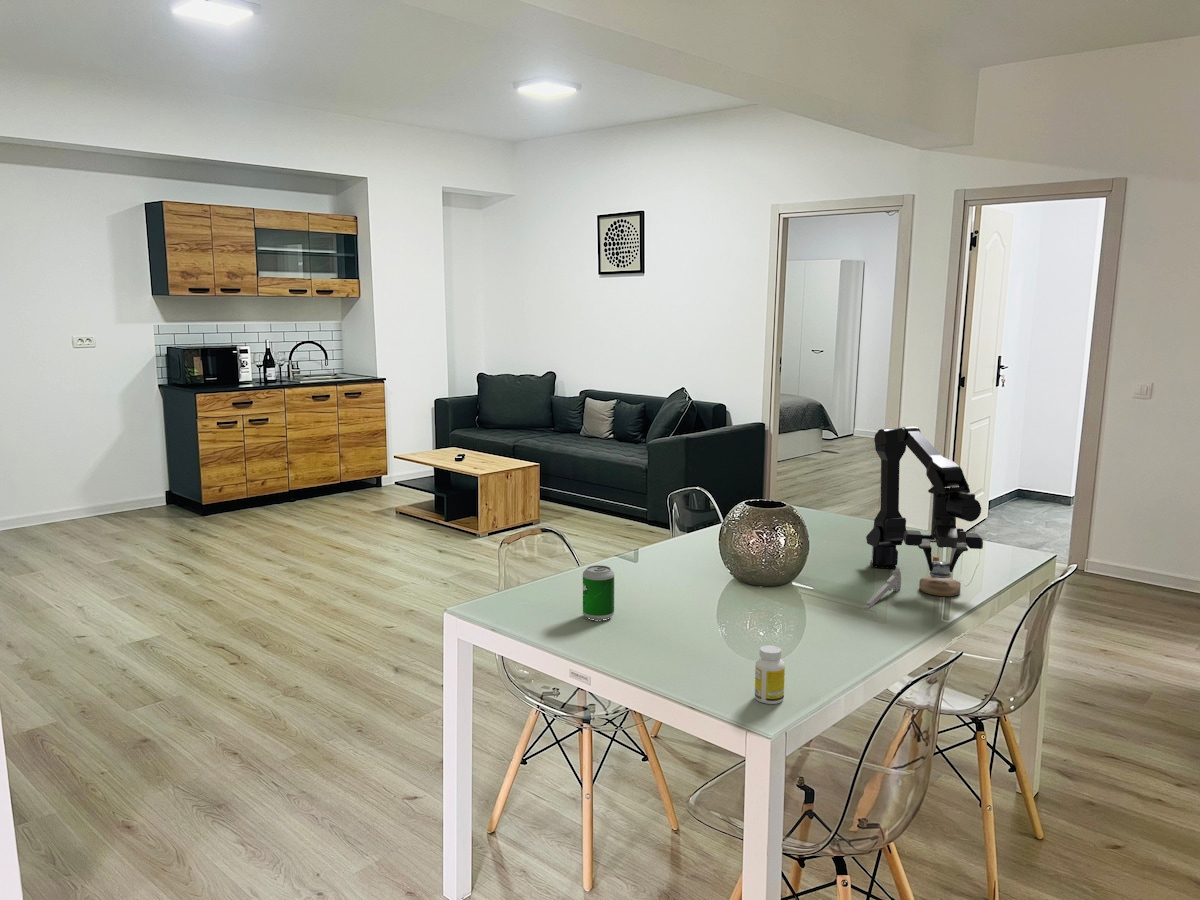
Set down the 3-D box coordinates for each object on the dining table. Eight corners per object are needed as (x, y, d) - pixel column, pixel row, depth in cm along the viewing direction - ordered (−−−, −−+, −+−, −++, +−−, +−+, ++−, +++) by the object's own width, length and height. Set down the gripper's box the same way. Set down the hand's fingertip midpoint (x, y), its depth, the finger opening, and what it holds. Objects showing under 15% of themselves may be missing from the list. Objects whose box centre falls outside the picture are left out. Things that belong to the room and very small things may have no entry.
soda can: (619, 615, 215) (620, 567, 213) (604, 624, 208) (604, 575, 207) (593, 610, 219) (593, 562, 217) (576, 619, 212) (576, 570, 210)
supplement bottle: (788, 697, 169) (790, 648, 167) (775, 707, 165) (777, 656, 163) (762, 690, 172) (764, 641, 171) (749, 700, 168) (750, 650, 166)
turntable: (963, 597, 227) (965, 571, 226) (922, 594, 229) (923, 569, 228) (953, 581, 241) (955, 557, 240) (914, 579, 243) (916, 555, 242)
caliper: (896, 589, 236) (897, 566, 235) (900, 590, 235) (901, 567, 234) (863, 609, 220) (864, 584, 219) (867, 609, 219) (869, 585, 219)
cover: (931, 577, 231) (932, 565, 230) (928, 571, 236) (929, 559, 235) (952, 578, 230) (953, 566, 229) (949, 573, 235) (949, 560, 234)
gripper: (910, 518, 224) (906, 578, 227) (989, 521, 220) (985, 582, 223) (904, 508, 235) (901, 566, 237) (980, 512, 231) (976, 570, 234)
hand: (940, 571), depth 232 cm, fingers closed on cover, 5 cm apart
